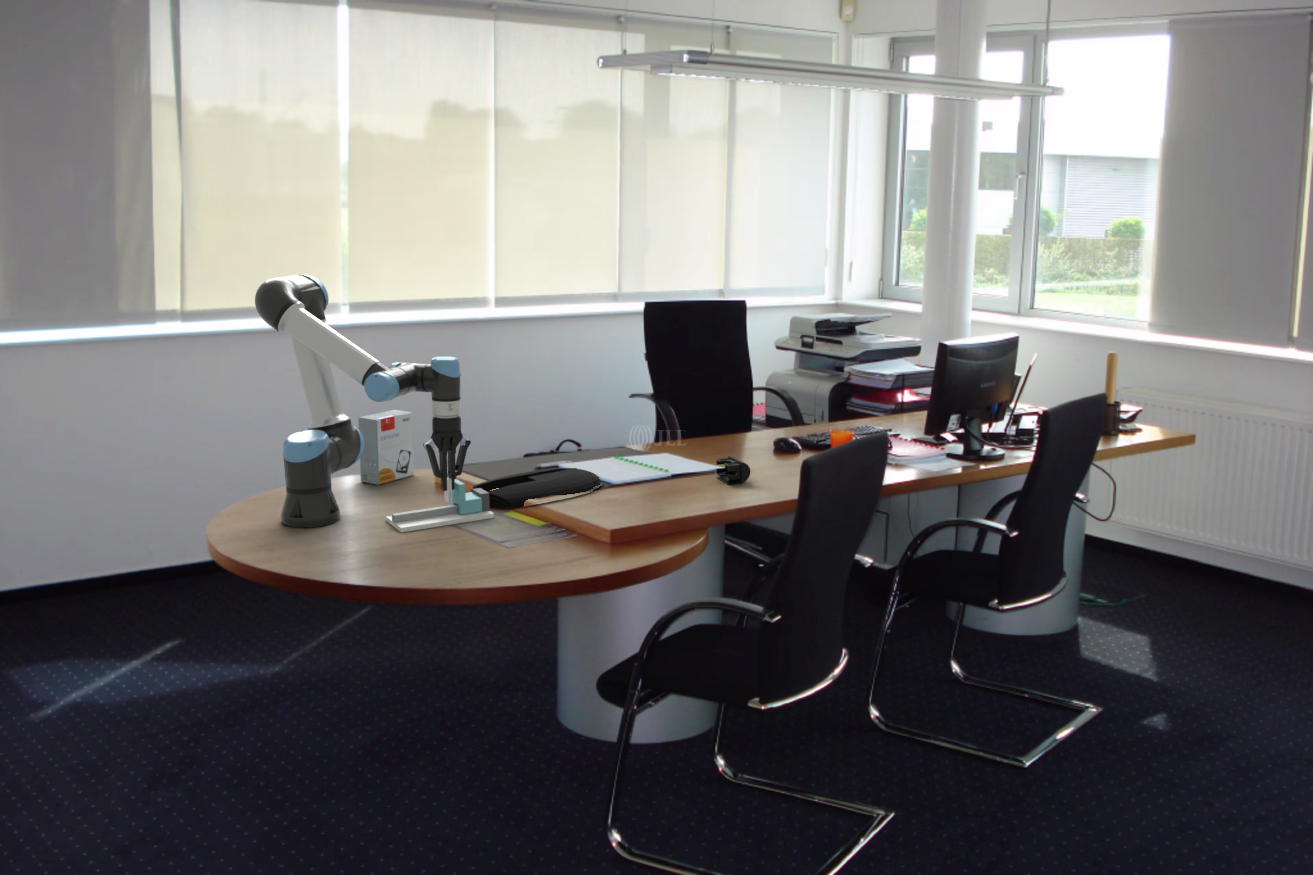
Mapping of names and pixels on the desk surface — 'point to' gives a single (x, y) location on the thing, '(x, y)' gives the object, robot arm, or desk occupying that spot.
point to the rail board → (439, 521)
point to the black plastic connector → (732, 471)
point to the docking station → (537, 485)
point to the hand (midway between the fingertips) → (448, 501)
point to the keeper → (465, 499)
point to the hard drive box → (386, 446)
